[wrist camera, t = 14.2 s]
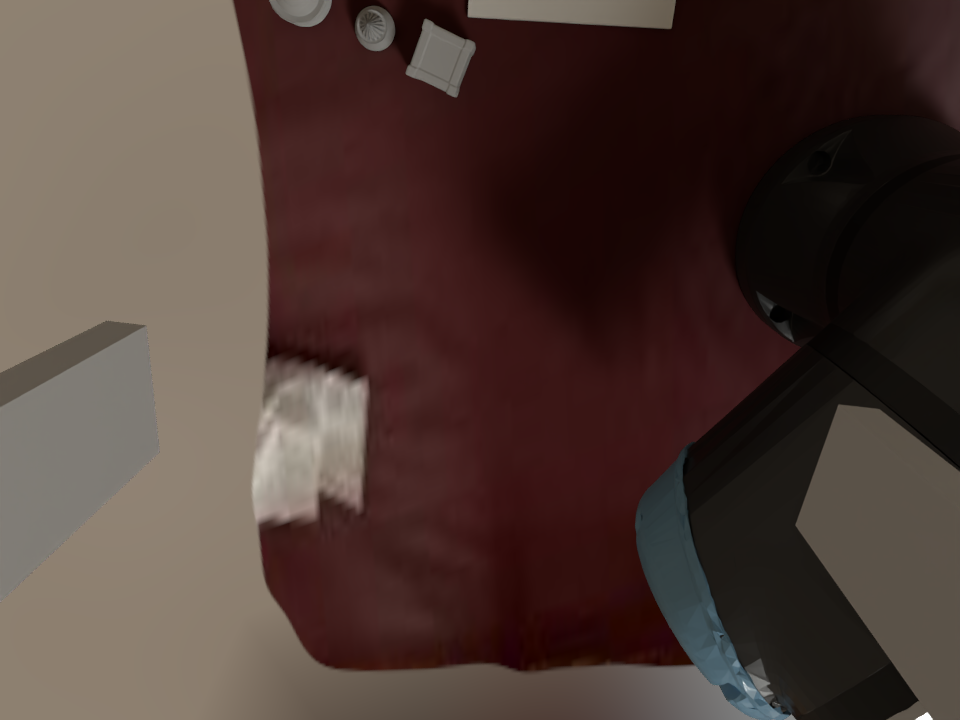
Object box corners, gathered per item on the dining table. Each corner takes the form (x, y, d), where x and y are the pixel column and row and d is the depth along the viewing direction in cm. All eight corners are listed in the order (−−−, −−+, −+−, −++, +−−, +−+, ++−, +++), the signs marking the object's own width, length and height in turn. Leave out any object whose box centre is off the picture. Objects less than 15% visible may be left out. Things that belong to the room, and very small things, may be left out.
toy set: (477, 45, 37) (476, 39, 34) (456, 100, 38) (452, 100, 35) (289, -48, 35) (268, -64, 32) (273, 13, 37) (251, 4, 33)
